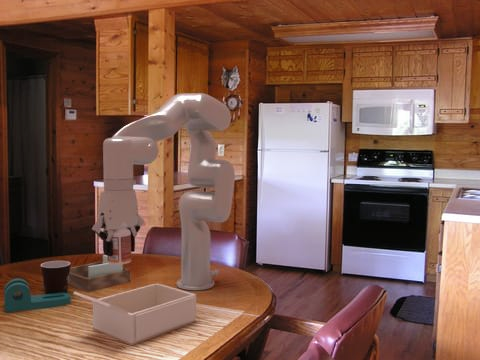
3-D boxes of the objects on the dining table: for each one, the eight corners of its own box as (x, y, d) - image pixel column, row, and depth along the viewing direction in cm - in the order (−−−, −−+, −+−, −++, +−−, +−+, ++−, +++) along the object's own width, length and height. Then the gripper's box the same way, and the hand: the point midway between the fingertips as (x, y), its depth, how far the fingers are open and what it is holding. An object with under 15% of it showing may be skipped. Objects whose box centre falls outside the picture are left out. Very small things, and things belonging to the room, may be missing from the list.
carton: (157, 307, 154) (157, 282, 153) (199, 321, 143) (199, 294, 142) (91, 328, 137) (90, 300, 136) (133, 346, 126) (133, 315, 125)
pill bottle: (130, 258, 143) (129, 218, 142) (132, 264, 138) (132, 222, 136) (106, 260, 141) (105, 219, 140) (108, 266, 136) (107, 223, 134)
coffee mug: (61, 301, 158) (61, 268, 157) (35, 299, 159) (34, 266, 158) (80, 290, 169) (80, 259, 168) (56, 288, 171) (55, 257, 170)
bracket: (5, 313, 147) (4, 285, 146) (4, 306, 153) (3, 279, 153) (72, 305, 155) (71, 279, 154) (69, 298, 161) (68, 273, 160)
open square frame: (100, 272, 191) (100, 261, 190) (130, 281, 180) (130, 269, 180) (59, 281, 178) (59, 270, 177) (88, 291, 167) (88, 279, 167)
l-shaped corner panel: (105, 275, 187) (105, 254, 187) (122, 283, 179) (122, 261, 178) (73, 281, 179) (72, 259, 178) (89, 289, 170) (89, 267, 170)
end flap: (92, 299, 135) (74, 291, 130) (128, 312, 125) (110, 304, 121) (91, 301, 134) (73, 293, 130) (127, 314, 125) (108, 306, 121)
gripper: (136, 182, 146) (137, 245, 148) (81, 186, 133) (82, 256, 135) (153, 184, 141) (154, 250, 143) (97, 189, 128) (99, 261, 130)
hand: (119, 252), depth 139 cm, fingers closed on pill bottle, 6 cm apart
